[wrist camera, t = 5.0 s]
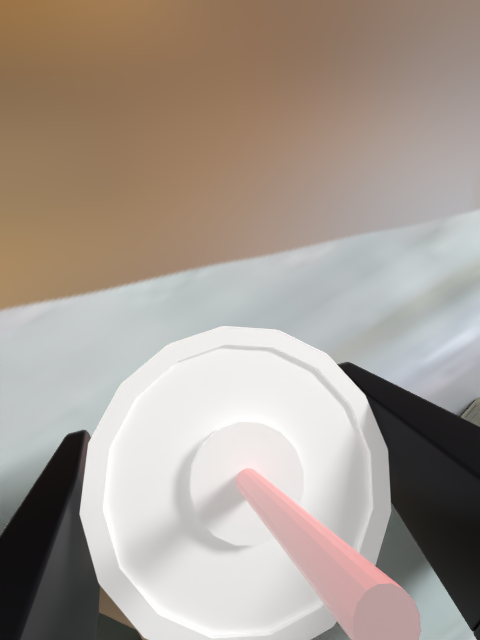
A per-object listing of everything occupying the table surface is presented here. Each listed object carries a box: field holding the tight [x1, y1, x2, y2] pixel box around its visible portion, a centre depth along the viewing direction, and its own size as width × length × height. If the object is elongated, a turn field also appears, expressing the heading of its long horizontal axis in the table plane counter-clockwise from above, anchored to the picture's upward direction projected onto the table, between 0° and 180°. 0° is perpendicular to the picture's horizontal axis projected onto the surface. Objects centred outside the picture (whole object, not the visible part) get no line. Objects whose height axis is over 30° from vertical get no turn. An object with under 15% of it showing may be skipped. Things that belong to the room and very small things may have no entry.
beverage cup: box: [79, 326, 421, 640], centre depth 9 cm, size 6×6×14 cm
